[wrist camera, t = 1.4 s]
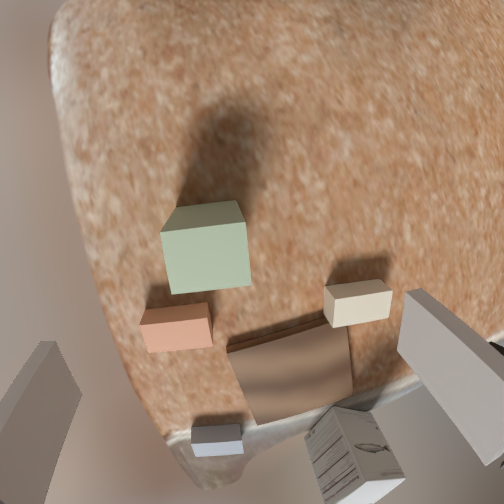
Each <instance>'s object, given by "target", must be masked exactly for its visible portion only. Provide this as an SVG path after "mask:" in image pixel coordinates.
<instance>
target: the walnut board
mask: <svg viewBox="0 0 504 504" xmlns="http://www.w3.org/2000/svg"><path fill="white" fill-rule="evenodd" d="M226 350H227V355H228V358H229V360H230V363H231V365H232V368H233V370H234V372H235V375H236V377H237V380H238V382H239V384H240V387H241V389H242V391H243V394H244V396H245V398H246V401H247V403H248V405H249V408H250V410H251V412H252V414H253V417H254V419H255V421H256V423H257V426H258V425H262V424H265V423H269V422H273V421H277V420H280V419H284V418H287V417H291V416H294V415H298V414H301V413H304V412H307V411H310V410H313V409H317V408H320V407H323V406H325V405H328V404H331V403H334V402H337V401H340V400H342V399H345V398H348V397H350V396H353V386H352V374H351V363H350V353H349V343H348V334H347V326H342V327H336V328H332V326H331V325H330V323H329V321H328V320H327V318H326V317H324V318H321V319H317V320H314V321H311V322H308V323H305V324H302V325H299V326H296V327H292V328H289V329H286V330H283V331H279V332H276V333H273V334H269V335H266V336H262V337H259V338H256V339H252V340H248V341H245V342H241V343H237V344H234V345H230V346H226Z"/></svg>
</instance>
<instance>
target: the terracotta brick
mask: <svg viewBox="0 0 504 504" xmlns="http://www.w3.org/2000/svg"><path fill="white" fill-rule="evenodd" d="M139 326H140V329H141V332H142V335H143V338H144V341H145V344H146V347H147V350H148V353H153V352H165V351H175V350H185V349H195V348H203V347H212V346H213V328H212V323H211V318H210V313H209V308H208V302H205V303H197V304H189V305H181V306H173V307H164V308H155V309H146V310H145V311H144V314H143V317H142V319H141V322H140V325H139Z"/></svg>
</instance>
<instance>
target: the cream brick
mask: <svg viewBox="0 0 504 504" xmlns="http://www.w3.org/2000/svg"><path fill="white" fill-rule="evenodd" d="M392 292H393V290H392V289H391V288H389V287H388V286H387V285H386V284H385V283H384V282H382V281H381V280H380V279H374V280H367V281H360V282H352V283H345V284H337V285H329V286H325V290H324V310H323V314H324V315H325V317H326V318H327V320H328V321H329V323H330V325H331V326H332V328H336V327H342V326H348V325H353V324H359V323H364V322H369V321H375V320H380V319H384V318H388V317H389V311H390V305H391V299H392Z"/></svg>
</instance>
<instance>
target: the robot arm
mask: <svg viewBox="0 0 504 504" xmlns="http://www.w3.org/2000/svg"><path fill="white" fill-rule="evenodd" d="M397 351H398V353H399V354H400V355H401V356H402V358H403V359H404V360H405V361H406V362H407V364H408V365H409V366H410V367H411V369H412V370H413V371H414V372H415V374H416V375H417V376H418V377H419V379H420V380H421V381H422V382H423V384H424V385H425V386H426V387H427V389H428V390H429V391H430V392H431V394H432V395H433V396H434V398H435V399H436V400H437V401H438V403H439V404H440V405H441V406H442V408H443V409H444V410H445V412H446V413H447V414H448V416H449V417H450V418H451V420H452V421H453V422H454V424H455V425H456V426H457V428H458V429H459V430H460V432H461V433H462V434H463V436H464V437H465V438H466V440H467V441H468V442H469V444H470V445H471V446H472V448H473V449H474V451H475V452H476V453H477V455H478V456H479V458H480V459H481V460H482V462H483V463H484V465H485V466H487V465H488V464H490V463H491V462H493V461H494V460H495V459H497V458H498V457H499V456H501V455H502V454H503V453H504V347H502V346H500V345H498V344H496V343H494V342H489V343H488V342H487V341H486V340H484V339H483V338H482V337H481V336H480V335H479V334H477V333H476V332H475V331H474V330H473V329H472V328H470V327H469V326H468V325H467V324H466V323H464V322H463V321H462V320H461V319H460V318H458V317H457V316H456V315H455V314H453V313H452V312H451V311H450V310H448V309H447V308H446V307H445V306H443V305H442V304H441V303H440V302H438V301H437V300H436V299H435V298H433V297H432V296H431V295H430V294H428V293H427V292H426V291H424V290H423V289H422V288H419V289H415V290H411V291H407V292H405V300H404V308H403V315H402V322H401V328H400V334H399V340H398V346H397ZM81 397H82V393H81V391H80V389H79V387H78V386H77V384H76V382H75V380H74V378H73V376H72V374H71V372H70V370H69V368H68V366H67V364H66V363H65V360H64V358H63V356H62V354H61V352H60V350H59V347H58V345H57V343H56V341H41V342H40V343H39V345H38V346H37V348H36V349H35V350H34V352H33V353H32V355H31V356H30V357H29V359H28V360H27V362H26V363H25V365H24V366H23V368H22V369H21V371H20V372H19V374H18V375H17V377H16V378H15V380H14V381H13V383H12V384H11V386H10V387H9V389H8V391H7V392H6V394H5V395H4V397H3V399H2V400H1V402H0V504H44V502H45V499H46V495H47V492H48V489H49V485H50V482H51V479H52V476H53V473H54V469H55V467H56V464H57V460H58V458H59V455H60V452H61V449H62V446H63V443H64V441H65V438H66V435H67V433H68V430H69V427H70V425H71V422H72V419H73V417H74V414H75V412H76V409H77V407H78V404H79V402H80V399H81ZM503 468H504V461H503V462H502V464H501V467H500V469H503Z"/></svg>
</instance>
